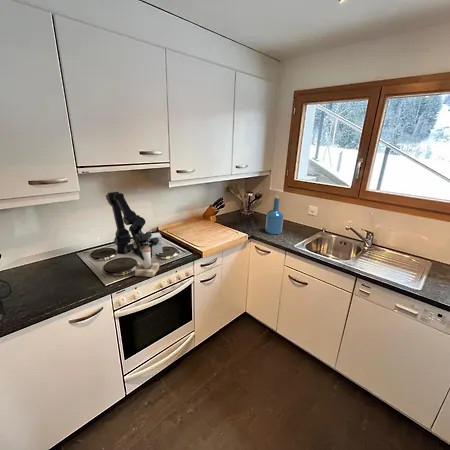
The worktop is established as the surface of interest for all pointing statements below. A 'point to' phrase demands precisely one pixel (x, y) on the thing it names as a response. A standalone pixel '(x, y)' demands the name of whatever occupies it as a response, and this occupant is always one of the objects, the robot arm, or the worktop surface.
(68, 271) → the worktop surface
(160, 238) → the supplement box
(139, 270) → the beige square frame
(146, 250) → the white pink cylinder
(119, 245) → the robot arm
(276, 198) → the wine bottle
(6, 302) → the worktop surface
